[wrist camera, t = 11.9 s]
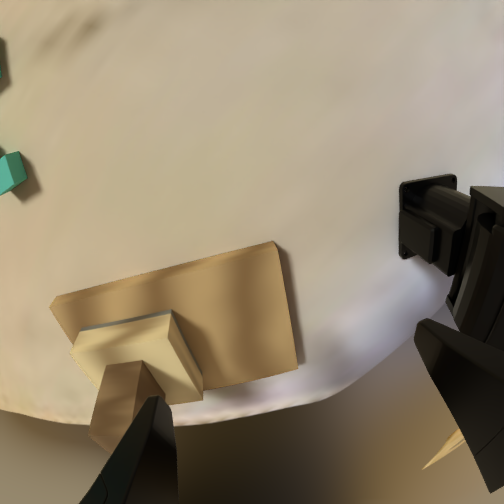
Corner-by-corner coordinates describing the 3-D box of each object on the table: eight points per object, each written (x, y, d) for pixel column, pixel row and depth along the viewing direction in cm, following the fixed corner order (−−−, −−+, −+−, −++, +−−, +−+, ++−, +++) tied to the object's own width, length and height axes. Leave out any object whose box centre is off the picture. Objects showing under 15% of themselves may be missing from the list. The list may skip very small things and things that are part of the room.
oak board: (272, 241, 20) (277, 250, 18) (294, 357, 25) (298, 368, 24) (56, 296, 19) (48, 307, 18) (119, 389, 24) (117, 401, 23)
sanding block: (171, 309, 19) (159, 419, 11) (202, 372, 22) (207, 467, 14) (81, 327, 19) (44, 420, 11) (121, 384, 22) (106, 468, 14)
